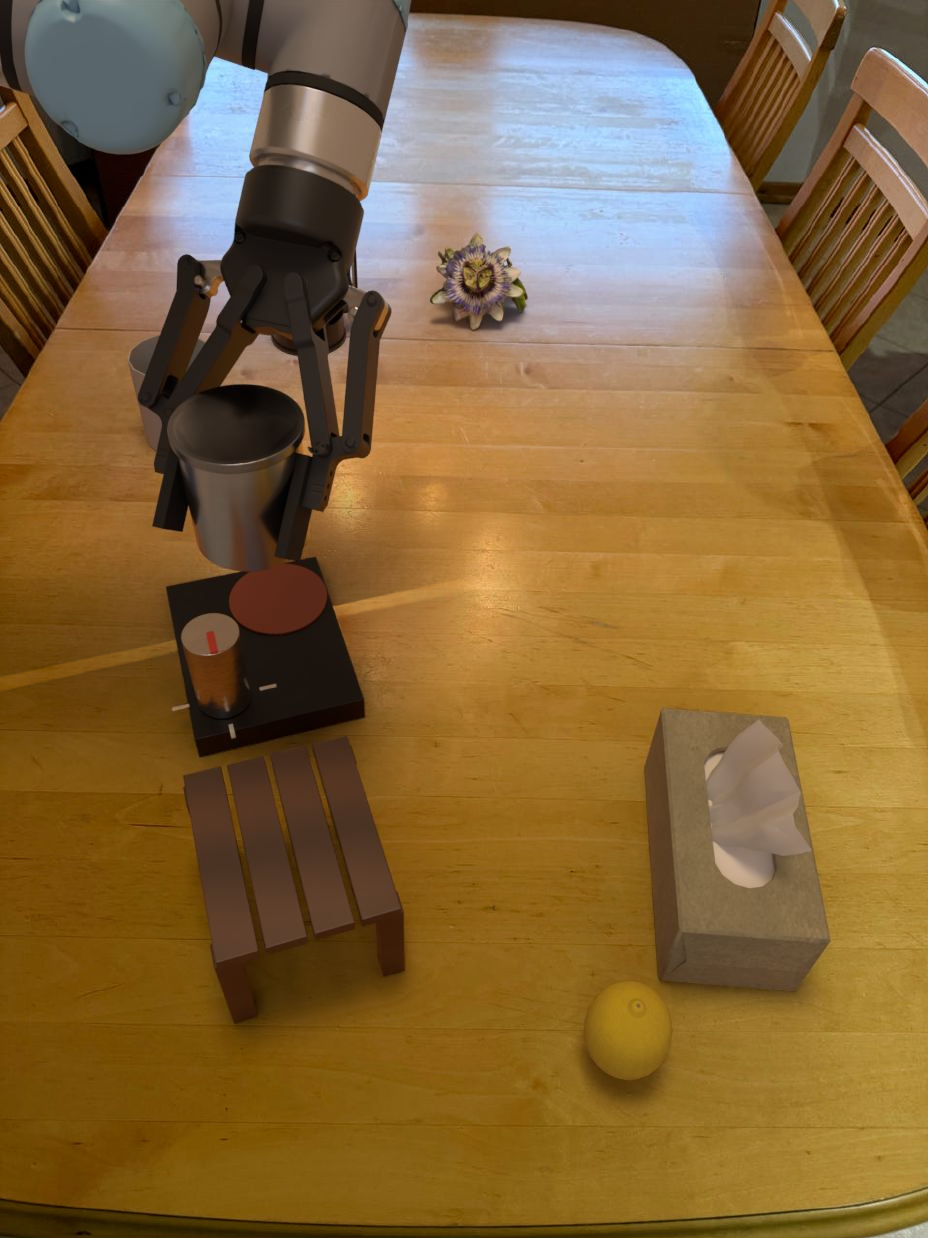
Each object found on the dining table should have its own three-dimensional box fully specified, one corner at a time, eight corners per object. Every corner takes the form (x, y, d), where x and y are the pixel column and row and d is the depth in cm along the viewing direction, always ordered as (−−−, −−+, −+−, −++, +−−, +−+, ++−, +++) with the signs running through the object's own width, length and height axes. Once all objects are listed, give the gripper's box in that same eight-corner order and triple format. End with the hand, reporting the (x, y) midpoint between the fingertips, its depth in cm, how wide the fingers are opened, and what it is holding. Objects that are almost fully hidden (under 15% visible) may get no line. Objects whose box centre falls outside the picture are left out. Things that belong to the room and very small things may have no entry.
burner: (221, 575, 92) (221, 574, 92) (315, 557, 94) (315, 555, 94) (238, 644, 86) (238, 642, 86) (337, 622, 88) (337, 621, 88)
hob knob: (194, 684, 83) (176, 616, 77) (246, 672, 84) (233, 605, 78) (202, 724, 80) (184, 658, 74) (256, 711, 81) (243, 645, 75)
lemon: (658, 1104, 64) (682, 1060, 58) (573, 1087, 65) (588, 1042, 59) (661, 1019, 68) (684, 970, 62) (581, 1004, 68) (596, 954, 62)
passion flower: (473, 363, 131) (424, 307, 122) (460, 307, 137) (412, 249, 127) (547, 321, 127) (503, 259, 118) (531, 265, 133) (487, 202, 123)
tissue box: (797, 997, 69) (874, 889, 58) (658, 985, 69) (706, 875, 58) (761, 771, 82) (818, 646, 70) (643, 762, 82) (680, 636, 71)
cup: (131, 437, 109) (110, 358, 102) (185, 402, 114) (169, 324, 107) (186, 466, 106) (168, 387, 99) (239, 429, 111) (227, 351, 103)
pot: (184, 504, 68) (159, 394, 62) (301, 484, 70) (290, 375, 63) (200, 586, 63) (175, 475, 56) (327, 561, 65) (317, 451, 58)
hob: (156, 607, 92) (150, 587, 90) (317, 574, 96) (315, 555, 94) (184, 769, 80) (179, 750, 78) (367, 724, 84) (366, 705, 82)
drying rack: (202, 849, 75) (179, 775, 68) (356, 808, 78) (350, 734, 71) (234, 1027, 66) (211, 964, 59) (406, 973, 69) (405, 907, 62)
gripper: (475, 236, 63) (393, 582, 65) (185, 184, 67) (113, 513, 68) (452, 188, 56) (361, 579, 57) (128, 132, 60) (49, 502, 61)
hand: (227, 543), depth 63 cm, fingers closed on pot, 8 cm apart
